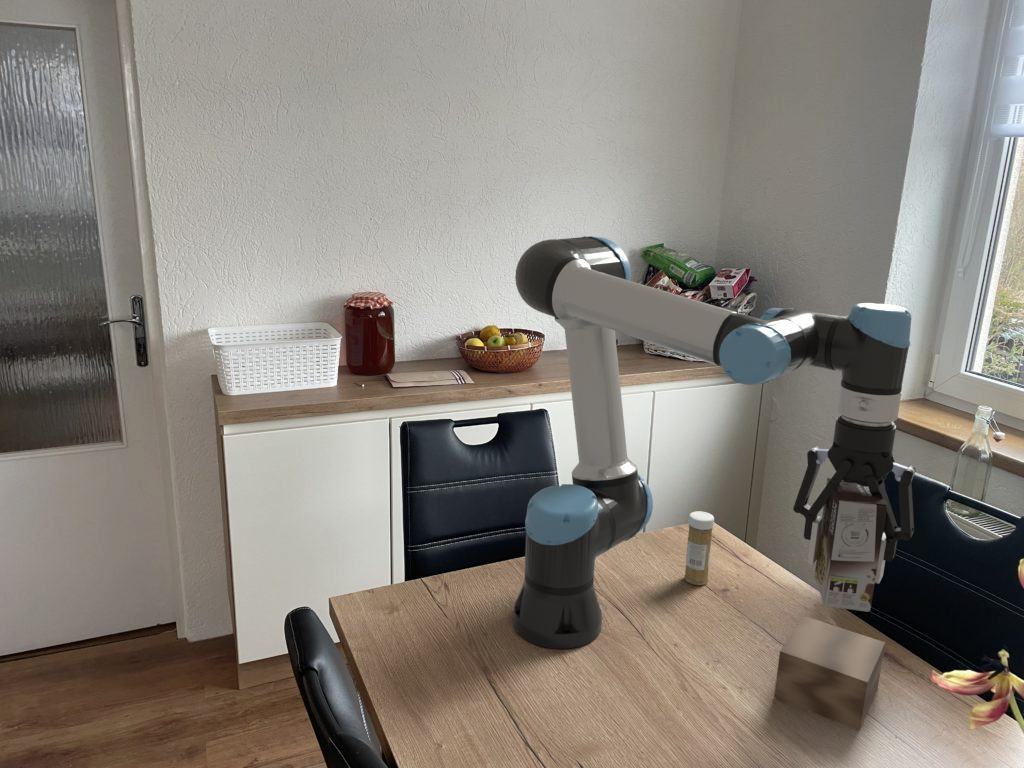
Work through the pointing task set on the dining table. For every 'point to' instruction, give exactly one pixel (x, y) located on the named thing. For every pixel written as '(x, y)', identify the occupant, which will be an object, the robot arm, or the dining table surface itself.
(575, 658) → the dining table surface
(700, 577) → the sprinkles bottle
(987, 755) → the dining table surface
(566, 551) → the robot arm
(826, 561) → the coffee box
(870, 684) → the walnut block
